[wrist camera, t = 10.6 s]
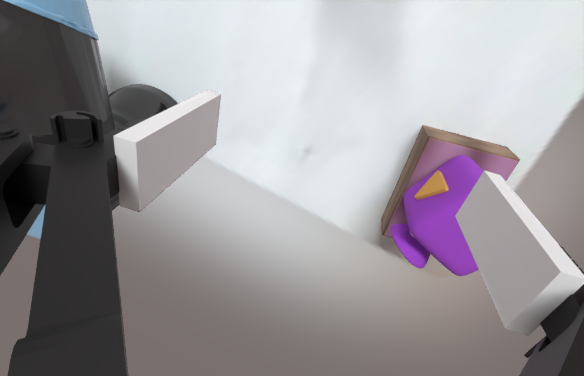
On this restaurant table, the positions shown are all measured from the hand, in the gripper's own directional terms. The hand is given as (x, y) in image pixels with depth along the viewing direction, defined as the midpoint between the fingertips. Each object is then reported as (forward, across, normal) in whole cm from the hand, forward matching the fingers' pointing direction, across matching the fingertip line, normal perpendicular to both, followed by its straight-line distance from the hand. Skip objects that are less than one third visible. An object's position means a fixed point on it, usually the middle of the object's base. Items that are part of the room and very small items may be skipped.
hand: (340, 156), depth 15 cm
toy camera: (+24, +16, -12) cm, 31 cm away
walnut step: (+28, +16, -12) cm, 35 cm away
